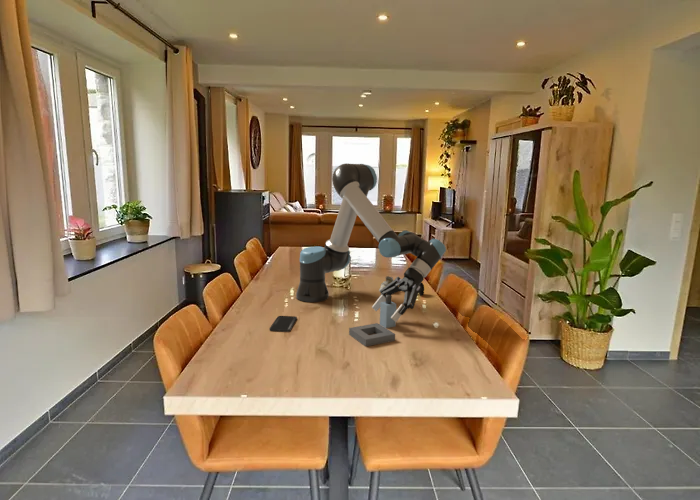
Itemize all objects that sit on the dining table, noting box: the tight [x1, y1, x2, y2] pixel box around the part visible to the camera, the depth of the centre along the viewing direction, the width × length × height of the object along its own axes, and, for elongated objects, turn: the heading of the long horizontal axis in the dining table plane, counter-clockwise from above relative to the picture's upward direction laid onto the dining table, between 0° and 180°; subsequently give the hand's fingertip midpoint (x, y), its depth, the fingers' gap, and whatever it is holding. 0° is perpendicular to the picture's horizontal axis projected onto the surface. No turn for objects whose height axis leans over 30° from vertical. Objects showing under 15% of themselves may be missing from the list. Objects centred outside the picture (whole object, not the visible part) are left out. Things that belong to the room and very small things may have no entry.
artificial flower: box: [378, 275, 425, 297], centre depth 210 cm, size 9×22×10 cm, turn 61°
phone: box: [268, 315, 298, 333], centre depth 164 cm, size 8×1×15 cm
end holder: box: [348, 322, 396, 347], centre depth 152 cm, size 12×12×2 cm
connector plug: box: [379, 295, 397, 329], centre depth 164 cm, size 4×4×12 cm
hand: (383, 314), depth 163 cm, fingers open, 13 cm apart
